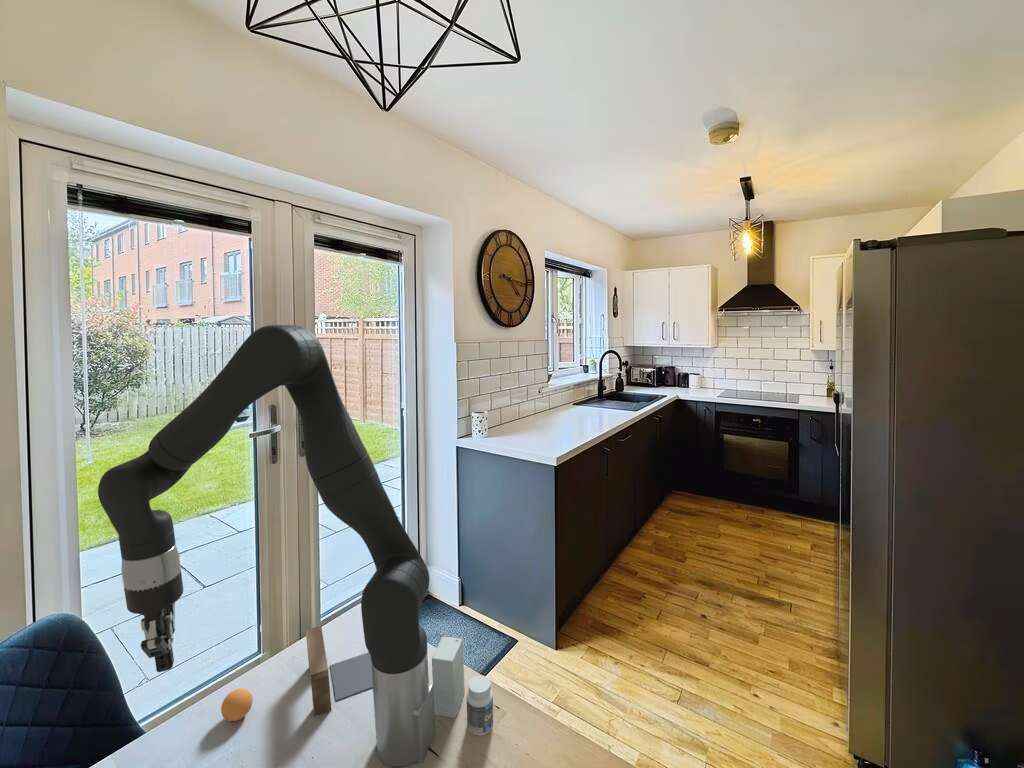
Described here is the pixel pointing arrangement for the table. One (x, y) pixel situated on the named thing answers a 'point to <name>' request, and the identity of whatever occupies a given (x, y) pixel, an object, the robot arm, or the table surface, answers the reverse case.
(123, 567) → the robot arm
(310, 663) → the bridge
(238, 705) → the ball
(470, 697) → the pill bottle
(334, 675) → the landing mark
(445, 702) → the skincare box
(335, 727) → the table surface
